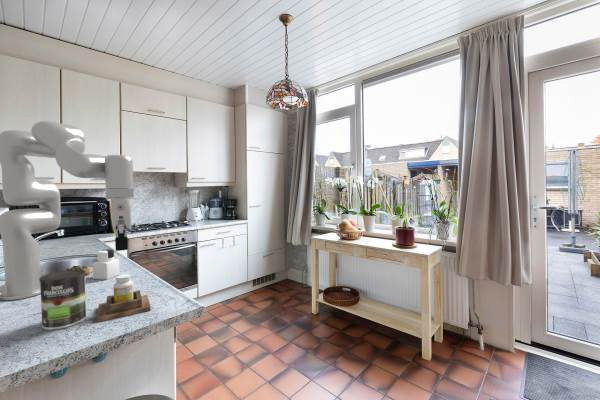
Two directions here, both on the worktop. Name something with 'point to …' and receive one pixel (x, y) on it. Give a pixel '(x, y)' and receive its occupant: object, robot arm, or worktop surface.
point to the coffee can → (63, 299)
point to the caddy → (123, 307)
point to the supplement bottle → (123, 288)
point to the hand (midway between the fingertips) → (121, 247)
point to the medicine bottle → (105, 265)
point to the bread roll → (85, 268)
